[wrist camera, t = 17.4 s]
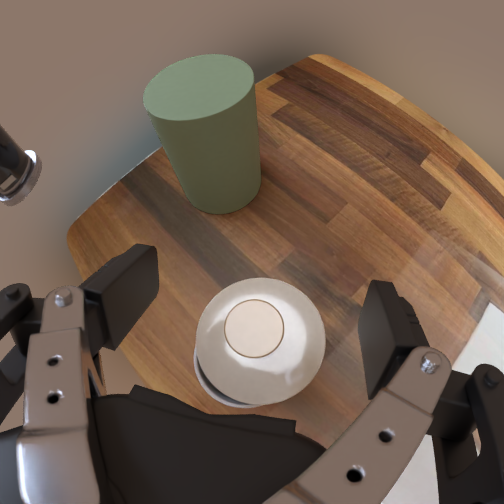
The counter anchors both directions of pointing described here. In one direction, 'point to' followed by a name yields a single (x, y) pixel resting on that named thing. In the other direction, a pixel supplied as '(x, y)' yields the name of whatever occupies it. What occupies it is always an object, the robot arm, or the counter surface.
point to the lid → (260, 341)
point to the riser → (209, 129)
